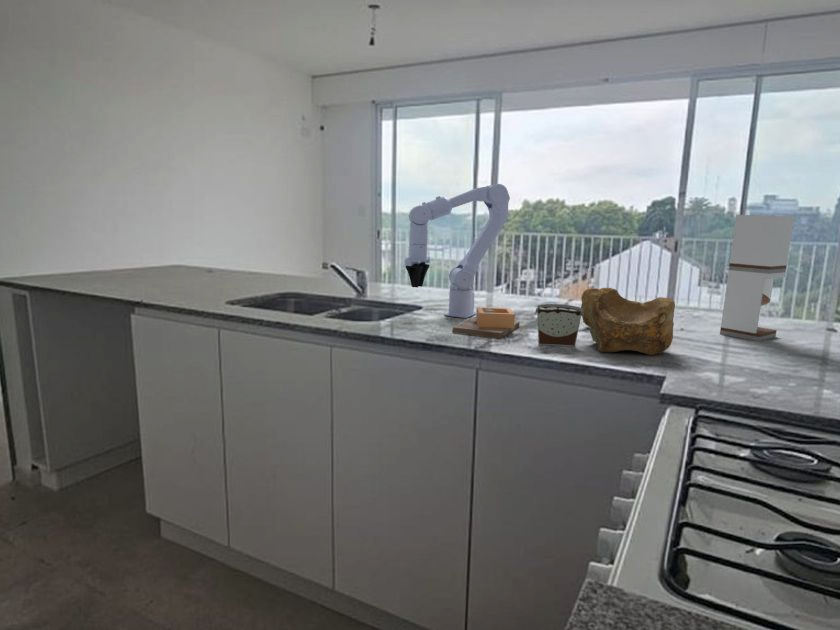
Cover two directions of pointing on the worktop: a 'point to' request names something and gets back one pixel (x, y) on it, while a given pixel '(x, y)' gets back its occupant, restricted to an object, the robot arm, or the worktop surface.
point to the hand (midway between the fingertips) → (417, 286)
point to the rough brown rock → (628, 321)
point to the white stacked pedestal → (754, 272)
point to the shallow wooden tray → (495, 318)
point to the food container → (558, 324)
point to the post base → (482, 328)
